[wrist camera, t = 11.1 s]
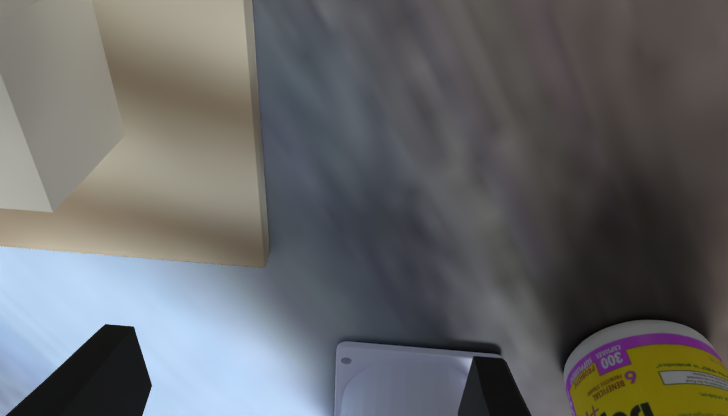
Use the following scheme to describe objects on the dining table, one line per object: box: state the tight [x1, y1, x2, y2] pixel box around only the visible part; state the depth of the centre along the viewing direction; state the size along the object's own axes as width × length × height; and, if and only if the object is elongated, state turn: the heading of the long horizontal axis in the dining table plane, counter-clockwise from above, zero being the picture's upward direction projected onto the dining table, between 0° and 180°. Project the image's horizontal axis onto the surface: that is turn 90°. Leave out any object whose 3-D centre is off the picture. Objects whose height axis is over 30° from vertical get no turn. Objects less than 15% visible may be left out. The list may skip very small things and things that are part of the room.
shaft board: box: [0, 0, 270, 268], centre depth 16 cm, size 16×14×4 cm
